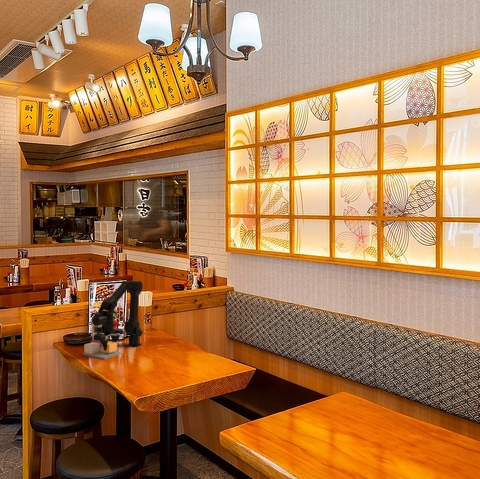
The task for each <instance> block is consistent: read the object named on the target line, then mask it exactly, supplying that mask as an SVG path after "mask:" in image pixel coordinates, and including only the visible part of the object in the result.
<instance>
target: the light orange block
mask: <svg viewBox="0 0 480 479" xmlns="http://www.w3.org/2000/svg"><path fill="white" fill-rule="evenodd" d="M101 345H102V344H101ZM114 351H118V341H117V342H112V340H111V341H110V340H108V343H107V349H106V351H105V350H104V348H103V346H102V352H107V353H111V352H114Z"/></svg>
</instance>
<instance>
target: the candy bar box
mask: <svg viewBox="0 0 480 479" xmlns="http://www.w3.org/2000/svg"><path fill="white" fill-rule="evenodd" d="M90 322H91V342H94V343H99V344H100V348H102V345H101V344H102V343H101V342H100V341H98V340H94V338H93V336H94V335H95V334H97V333H95V332H94V327H97V326H95V325H94V324H93V323H92V318H91V321H90ZM98 327H99V328H100V327H102V325H98ZM99 334H104V333H99ZM106 339H108V340H109V336H108V337H106Z"/></svg>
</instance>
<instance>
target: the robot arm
mask: <svg viewBox="0 0 480 479" xmlns="http://www.w3.org/2000/svg"><path fill="white" fill-rule="evenodd" d="M127 291H128V293H129V295H130V297H129V298H130V299H129V308H128V309H129V311H128V319H127V321H125V322H124V327H123V328H115V326H116V323H115V314H117V311H116V310H115V309H116V308H117V306H118V302H119V300H120V299H121V298H122V297H123V295H125V293H126V292H127ZM142 292H143V283H142V281H140V280H130V281H129V280H123V281H121V284H120V285H119V286H118V287H117V288H116V289H115V291H114V292H112V294H111V295H110V296H108V297H105V299H104V300H102V302H101V304H100V307H99V309H98V311H97V312H96V313H94V315H93V317H92V318H91V319H92V323H93V324H94V325H95V326H97V327H94V332H95V333H97V334H95V335H94V336H93V338H94V340H98V341H100V342H101V343H102V346H103V348H104V350H105V351H106V349H107V343H108V341H109V337H110V338H111V342H117V343H118V340H119V338H120V337H121V335H124V334H125V335H126V336H128V344H127V345H126V346H128V347H132V348H136V347H139V346H141V345H143V344H142V343H141V342H140V341H141V340H140V338H141V336H143V334H144V333H143V331H142V329H141V327H140V322H139V320H138V309H139V300H140V298H139V296H140V295H141V293H142ZM98 325H102V327H100V328H99V327H98ZM99 333H104V334H99ZM106 337H108V339H106Z"/></svg>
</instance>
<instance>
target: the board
mask: <svg viewBox="0 0 480 479" xmlns="http://www.w3.org/2000/svg"><path fill="white" fill-rule="evenodd" d="M83 345H84V346H83V347H84V352H82V355H83V356H86V357H91V358H96V359H100V360H101V359H102V360H107V359H110V358H113V357H116V356H118V355H121V351H118V350H116V351H114V352H111V353H107V352H102V348H101V347H100V344H99V343H94V342H92V341H91V342H89V343H85V344H83Z"/></svg>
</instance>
